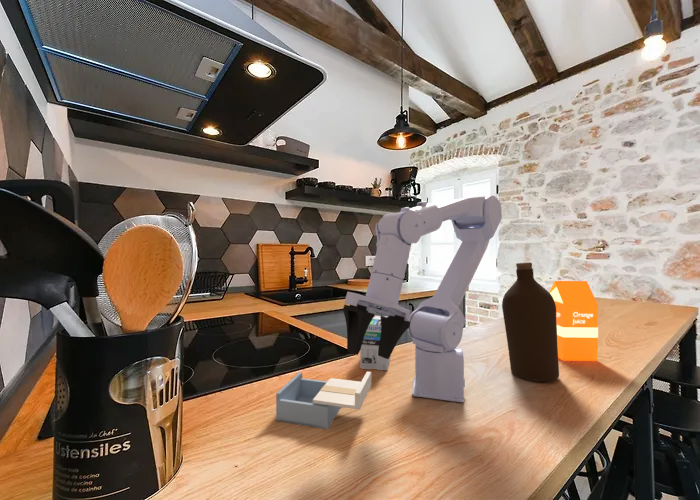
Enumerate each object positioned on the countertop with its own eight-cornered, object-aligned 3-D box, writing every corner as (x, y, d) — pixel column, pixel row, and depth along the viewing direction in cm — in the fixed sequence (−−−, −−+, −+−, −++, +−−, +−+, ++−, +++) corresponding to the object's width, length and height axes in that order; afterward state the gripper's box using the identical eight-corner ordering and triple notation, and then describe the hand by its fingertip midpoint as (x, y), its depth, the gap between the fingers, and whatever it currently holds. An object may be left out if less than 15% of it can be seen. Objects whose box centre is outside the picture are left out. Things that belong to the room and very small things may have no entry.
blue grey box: (343, 402, 58) (343, 377, 58) (327, 429, 49) (327, 400, 49) (299, 395, 60) (299, 372, 60) (276, 420, 51) (276, 393, 51)
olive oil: (524, 384, 65) (513, 265, 65) (499, 367, 75) (490, 264, 76) (575, 380, 65) (563, 261, 66) (542, 363, 75) (532, 261, 76)
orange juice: (598, 361, 79) (598, 282, 79) (563, 360, 79) (563, 282, 79) (576, 350, 87) (577, 279, 87) (544, 350, 87) (545, 279, 87)
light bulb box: (387, 372, 72) (388, 325, 72) (359, 369, 73) (359, 324, 73) (391, 356, 82) (391, 315, 82) (366, 354, 84) (366, 314, 84)
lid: (371, 385, 56) (371, 371, 56) (359, 409, 48) (359, 393, 48) (330, 380, 58) (330, 367, 58) (312, 402, 50) (312, 387, 50)
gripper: (375, 267, 47) (353, 358, 45) (429, 289, 56) (413, 365, 54) (346, 264, 52) (324, 345, 50) (399, 284, 61) (383, 354, 59)
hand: (368, 355), depth 52 cm, fingers open, 7 cm apart
